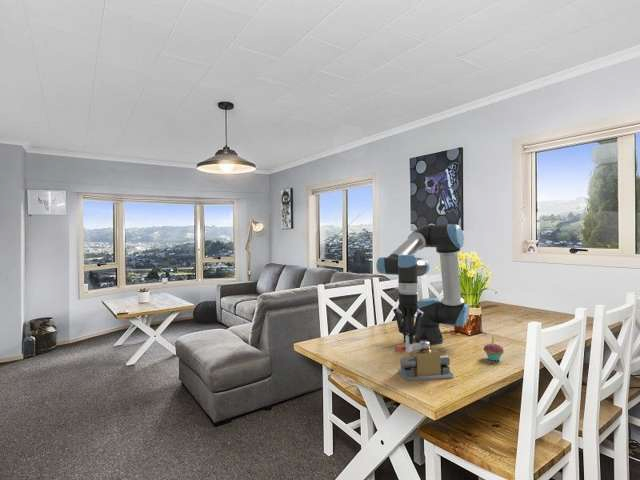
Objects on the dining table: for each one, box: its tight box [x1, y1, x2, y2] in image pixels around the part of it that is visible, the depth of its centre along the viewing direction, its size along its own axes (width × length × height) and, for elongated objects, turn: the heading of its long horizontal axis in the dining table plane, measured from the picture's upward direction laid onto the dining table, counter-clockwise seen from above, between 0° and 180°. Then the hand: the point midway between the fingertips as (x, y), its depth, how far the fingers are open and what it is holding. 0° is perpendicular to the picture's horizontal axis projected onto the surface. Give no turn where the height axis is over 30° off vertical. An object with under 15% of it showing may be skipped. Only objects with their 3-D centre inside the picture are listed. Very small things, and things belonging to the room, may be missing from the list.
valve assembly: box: [397, 345, 454, 382], centre depth 152 cm, size 20×10×11 cm, turn 98°
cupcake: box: [483, 335, 505, 362], centre depth 169 cm, size 9×8×12 cm
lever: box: [394, 341, 431, 354], centre depth 150 cm, size 16×4×3 cm, turn 110°
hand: (408, 351), depth 146 cm, fingers closed
